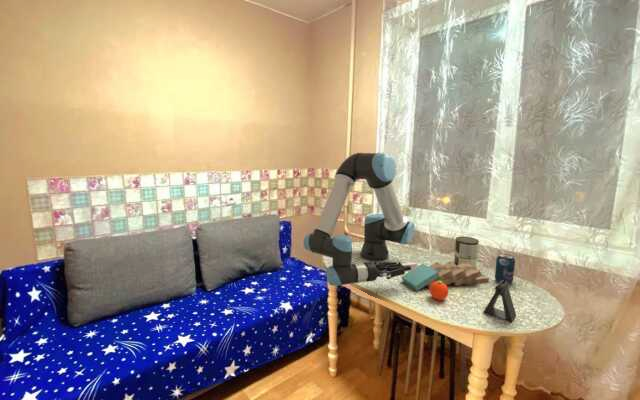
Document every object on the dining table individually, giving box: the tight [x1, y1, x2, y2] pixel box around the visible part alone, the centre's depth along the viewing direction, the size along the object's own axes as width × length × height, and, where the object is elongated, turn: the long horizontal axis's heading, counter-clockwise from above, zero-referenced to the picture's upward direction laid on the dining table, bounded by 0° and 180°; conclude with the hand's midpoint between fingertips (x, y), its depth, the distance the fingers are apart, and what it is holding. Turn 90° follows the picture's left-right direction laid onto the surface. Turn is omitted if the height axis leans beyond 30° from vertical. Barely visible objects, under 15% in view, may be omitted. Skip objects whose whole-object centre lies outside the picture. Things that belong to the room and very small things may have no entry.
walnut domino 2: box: [442, 261, 466, 287], centre depth 133 cm, size 10×2×12 cm
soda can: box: [494, 253, 516, 285], centre depth 133 cm, size 7×7×12 cm
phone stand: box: [483, 280, 517, 323], centre depth 106 cm, size 9×6×12 cm, turn 46°
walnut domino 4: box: [462, 273, 490, 286], centre depth 137 cm, size 10×2×12 cm
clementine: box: [428, 281, 449, 301], centre depth 118 cm, size 8×7×7 cm
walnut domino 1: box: [425, 261, 453, 289], centre depth 132 cm, size 10×2×12 cm
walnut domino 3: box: [451, 262, 482, 287], centre depth 134 cm, size 10×2×12 cm
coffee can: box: [453, 236, 480, 268], centre depth 149 cm, size 10×10×14 cm
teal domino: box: [401, 263, 440, 292], centre depth 130 cm, size 10×2×12 cm
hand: (415, 266), depth 128 cm, fingers closed
